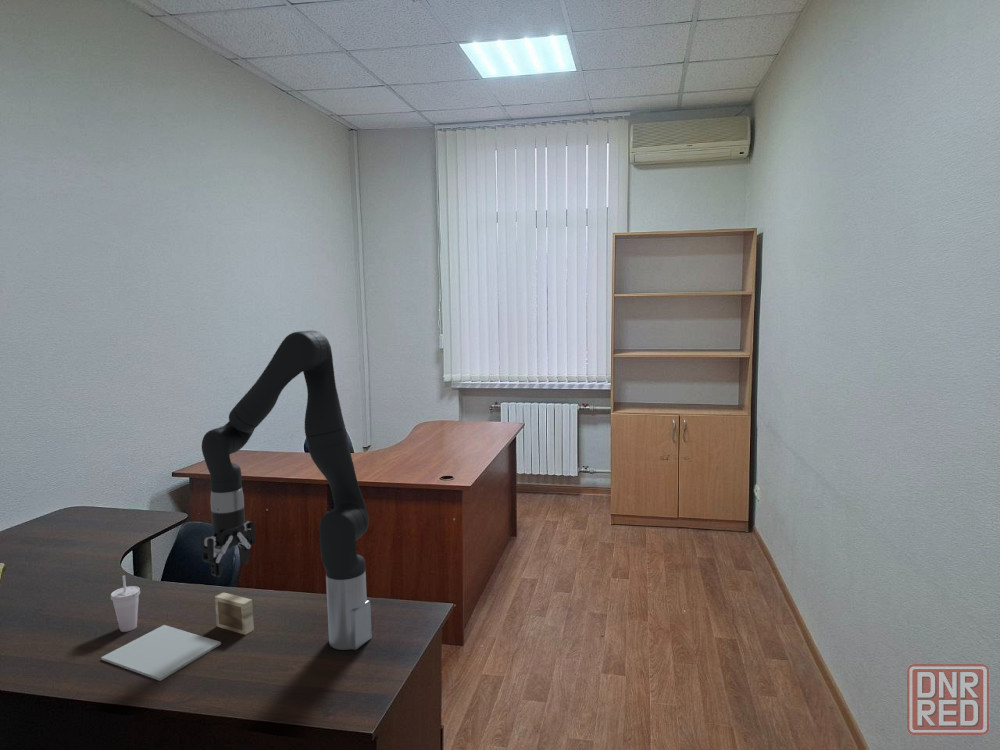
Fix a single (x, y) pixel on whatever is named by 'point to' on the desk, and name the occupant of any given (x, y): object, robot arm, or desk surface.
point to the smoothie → (126, 606)
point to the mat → (161, 652)
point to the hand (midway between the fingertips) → (231, 569)
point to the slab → (234, 613)
